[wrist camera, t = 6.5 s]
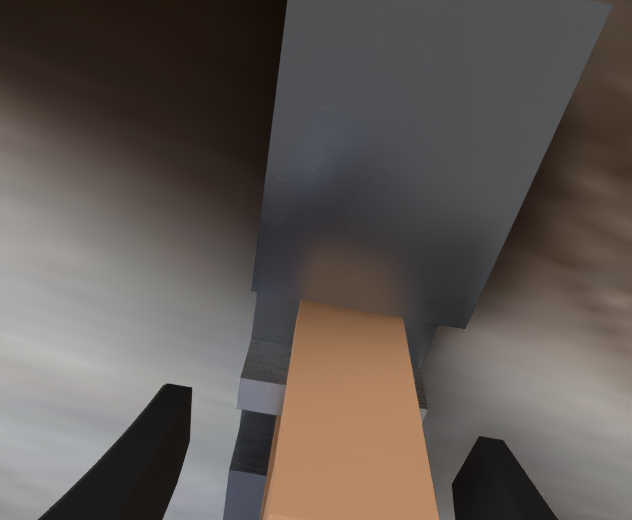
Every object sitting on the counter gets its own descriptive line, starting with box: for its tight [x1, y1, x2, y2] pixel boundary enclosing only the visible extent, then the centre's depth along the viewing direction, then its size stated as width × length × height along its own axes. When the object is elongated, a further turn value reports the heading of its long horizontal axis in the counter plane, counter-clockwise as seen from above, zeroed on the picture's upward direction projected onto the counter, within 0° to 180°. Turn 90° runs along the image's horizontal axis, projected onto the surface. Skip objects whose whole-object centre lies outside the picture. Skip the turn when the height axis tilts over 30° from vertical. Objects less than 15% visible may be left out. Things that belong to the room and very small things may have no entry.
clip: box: [259, 300, 439, 520], centre depth 11 cm, size 5×3×6 cm, turn 169°
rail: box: [223, 0, 613, 520], centre depth 13 cm, size 20×5×3 cm, turn 170°
